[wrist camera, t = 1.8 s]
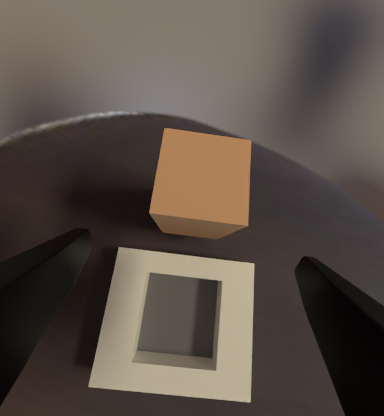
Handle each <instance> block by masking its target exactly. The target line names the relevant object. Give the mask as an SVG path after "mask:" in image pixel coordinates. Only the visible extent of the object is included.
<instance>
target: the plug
mask: <svg viewBox="0 0 384 416" xmlns="http://www.w3.org/2000/svg"><path fill="white" fill-rule="evenodd" d="M250 159H251V140H244V139H237V138H231V137H224V136H217V135H210V134H203V133H196V132H189V131H183V130H176V129H169V128H165V129H164V135H163V140H162V146H161V151H160V156H159V162H158V167H157V173H156V178H155V184H154V189H153V194H152V200H151V205H150V211H149V214H150V215H151V217H152V218H153V219H154V221H155V222H156V224H157V225H158V226H159V228H160V229H161V231H162V232H163V233H170V234H178V235H186V236H194V237H202V238H210V239H219V238H221V237H224V236H226V235H228V234H231V233H233V232H235V231H237V230H240V229H242V228H244V227H247V226H248V212H249V185H250Z"/></svg>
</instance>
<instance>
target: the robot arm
mask: <svg viewBox="0 0 384 416" xmlns="http://www.w3.org/2000/svg"><path fill="white" fill-rule="evenodd" d="M91 248H92V242H91V237H90V232H89V230H88V229H85V228H75V229H73V230H71V231H69V232H66V233H64V234H62V235H60V236H58V237H55V238H53V239H51V240H49V241H47V242H45V243H42V244H40V245H38V246H36V247H34V248H31V249H29V250H27V251H25V252H23V253H20V254H18V255H16V256H14V257H12V258H9V259H7V260H5V261H3V262H1V263H0V406H1V404H2V403H3V401H4V399H5V398H6V396H7V395H8V393H9V391H10V390H11V388H12V386H13V385H14V383H15V381H16V380H17V378H18V376H19V375H20V373H21V372H22V370H23V368H24V367H25V365H26V363H27V362H28V360H29V358H30V357H31V355H32V353H33V352H34V350H35V348H36V347H37V345H38V344H39V342H40V340H41V339H42V337H43V335H44V334H45V332H46V330H47V329H48V327H49V325H50V324H51V322H52V320H53V319H54V317H55V316H56V314H57V312H58V311H59V309H60V307H61V306H62V304H63V302H64V301H65V299H66V297H67V296H68V294H69V293H70V291H71V289H72V287H73V286H74V284H75V282H76V280H77V278H78V276H79V274H80V272H81V270H82V268H83V265H84V263H85V261H86V259H87V257H88V255H89V253H90V251H91ZM295 277H296V281H297V284H298V288H299V292H300V295H301V299H302V302H303V306H304V309H305V312H306V315H307V318H308V320H309V323H310V325H311V328H312V331H313V333H314V336H315V338H316V341H317V344H318V346H319V349H320V351H321V354H322V357H323V359H324V362H325V364H326V367H327V370H328V372H329V375H330V377H331V380H332V383H333V385H334V388H335V390H336V393H337V396H338V398H339V401H340V403H341V406H342V409H343V411H344V414H345V416H384V306H383V305H381V304H380V303H378V302H377V301H376V300H374V299H373V298H371V297H370V296H369V295H367V294H366V293H364V292H363V291H361V290H360V289H359V288H357V287H356V286H354V285H353V284H352V283H350V282H349V281H347V280H346V279H344V278H343V277H342V276H340V275H339V274H337V273H336V272H335V271H333V270H332V269H330V268H329V267H327V266H326V265H325V264H323V263H322V262H320V261H319V260H318V259H316V258H314V257H308V256H304V257H302V259H301V260H300V262H299V264H298V265H297V267H296V268H295Z"/></svg>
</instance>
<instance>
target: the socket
mask: <svg viewBox="0 0 384 416" xmlns="http://www.w3.org/2000/svg"><path fill="white" fill-rule="evenodd" d="M253 294H254V264H253V263H245V262H237V261H229V260H220V259H212V258H204V257H196V256H188V255H179V254H171V253H163V252H155V251H147V250H139V249H130V248H122V247H119V249H118V254H117V258H116V263H115V267H114V272H113V276H112V281H111V286H110V290H109V295H108V299H107V304H106V309H105V313H104V318H103V322H102V327H101V331H100V336H99V341H98V345H97V350H96V354H95V359H94V364H93V368H92V373H91V377H90V382H89V386H88V387H94V388H104V389H115V390H125V391H136V392H146V393H157V394H167V395H178V396H188V397H199V398H209V399H220V400H230V401H241V402H251V367H252V330H253Z"/></svg>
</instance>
